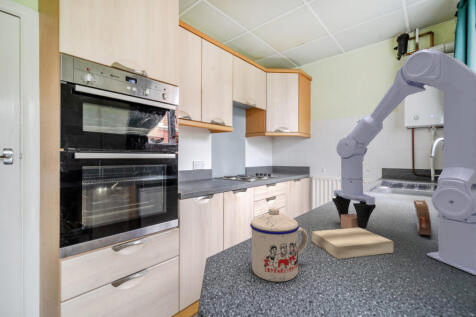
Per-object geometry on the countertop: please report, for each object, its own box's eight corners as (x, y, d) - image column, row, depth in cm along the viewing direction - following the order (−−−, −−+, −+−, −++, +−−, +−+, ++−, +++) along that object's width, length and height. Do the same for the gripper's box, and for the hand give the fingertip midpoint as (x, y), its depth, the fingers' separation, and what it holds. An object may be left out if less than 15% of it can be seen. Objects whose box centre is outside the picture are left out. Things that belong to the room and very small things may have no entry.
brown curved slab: (432, 240, 54) (432, 207, 54) (416, 237, 56) (416, 205, 56) (426, 225, 66) (426, 198, 66) (413, 223, 68) (413, 197, 68)
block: (365, 231, 62) (364, 217, 62) (351, 232, 61) (351, 218, 61) (353, 226, 66) (353, 213, 66) (340, 227, 65) (340, 214, 65)
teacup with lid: (264, 288, 35) (263, 216, 35) (243, 263, 43) (243, 205, 43) (323, 274, 39) (322, 209, 39) (293, 253, 47) (293, 201, 47)
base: (393, 252, 47) (393, 241, 47) (337, 258, 44) (337, 246, 44) (359, 236, 57) (359, 227, 57) (311, 241, 54) (311, 231, 54)
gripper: (325, 177, 70) (325, 218, 70) (358, 181, 56) (359, 233, 56) (344, 176, 71) (344, 217, 71) (381, 180, 57) (382, 231, 57)
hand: (352, 224), depth 64 cm, fingers open, 7 cm apart
